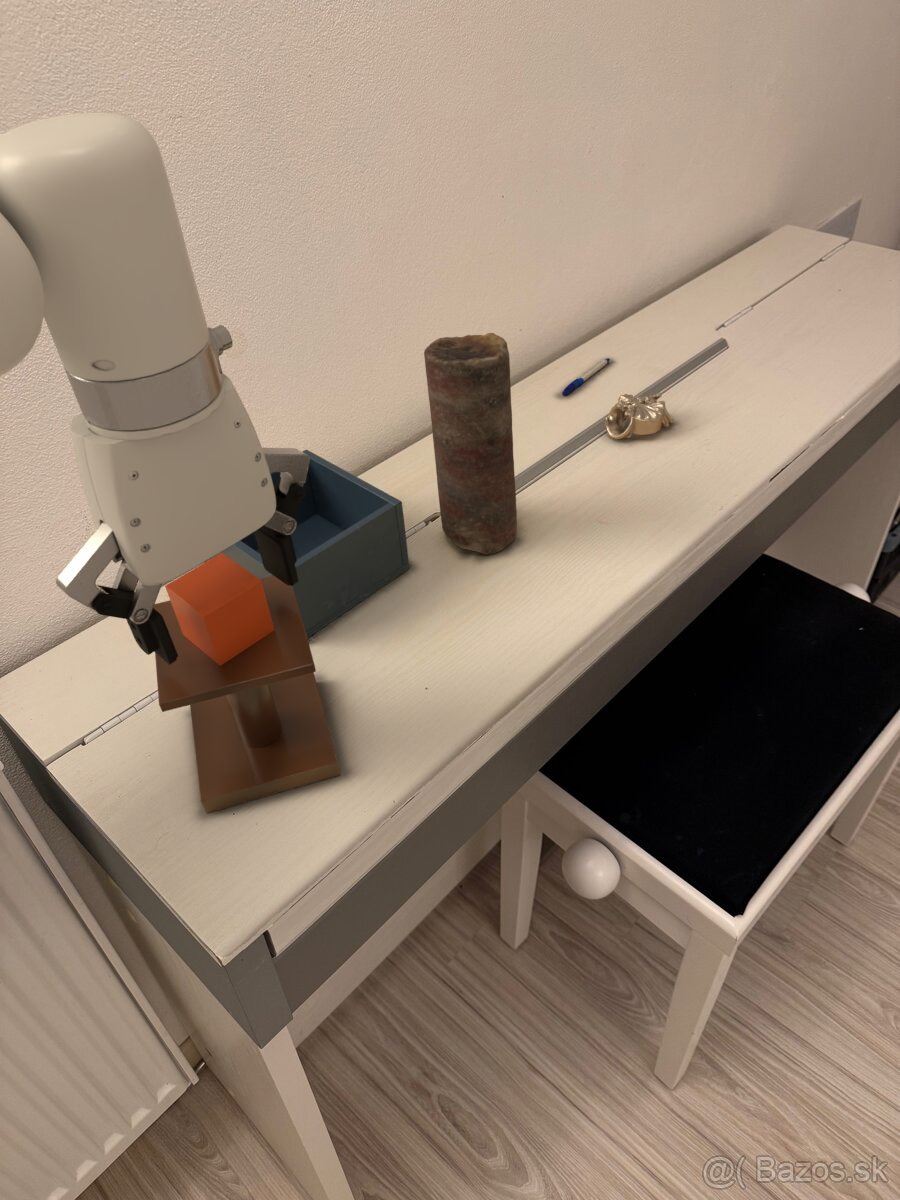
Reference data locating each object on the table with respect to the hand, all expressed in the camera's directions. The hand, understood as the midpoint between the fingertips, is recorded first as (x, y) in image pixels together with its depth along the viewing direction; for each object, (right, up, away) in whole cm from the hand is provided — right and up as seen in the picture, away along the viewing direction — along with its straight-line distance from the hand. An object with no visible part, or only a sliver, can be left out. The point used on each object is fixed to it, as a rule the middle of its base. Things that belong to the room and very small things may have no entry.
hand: (224, 612), depth 58 cm
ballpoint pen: (+32, +28, +49) cm, 65 cm away
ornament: (+36, +20, +40) cm, 58 cm away
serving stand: (+1, -10, +9) cm, 14 cm away
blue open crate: (+2, +3, +24) cm, 24 cm away
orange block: (0, -1, +1) cm, 2 cm away
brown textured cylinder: (+18, +7, +27) cm, 34 cm away
